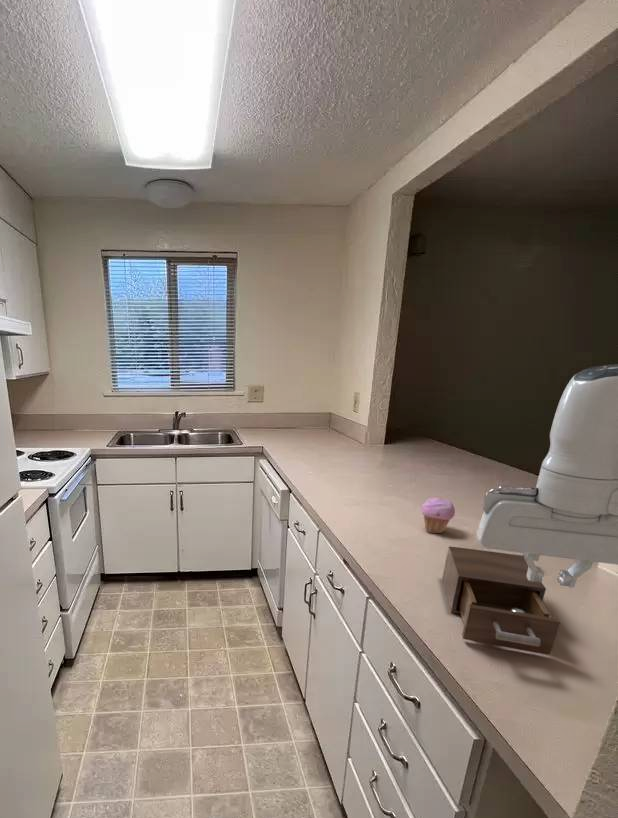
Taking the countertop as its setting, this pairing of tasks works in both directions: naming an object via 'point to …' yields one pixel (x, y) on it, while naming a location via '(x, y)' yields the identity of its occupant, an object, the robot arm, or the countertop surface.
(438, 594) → the countertop surface
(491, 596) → the drawer
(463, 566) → the cabinet
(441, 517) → the cupcake
